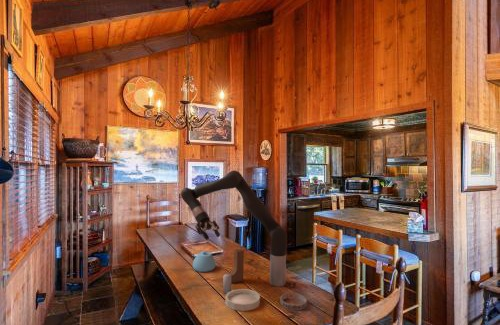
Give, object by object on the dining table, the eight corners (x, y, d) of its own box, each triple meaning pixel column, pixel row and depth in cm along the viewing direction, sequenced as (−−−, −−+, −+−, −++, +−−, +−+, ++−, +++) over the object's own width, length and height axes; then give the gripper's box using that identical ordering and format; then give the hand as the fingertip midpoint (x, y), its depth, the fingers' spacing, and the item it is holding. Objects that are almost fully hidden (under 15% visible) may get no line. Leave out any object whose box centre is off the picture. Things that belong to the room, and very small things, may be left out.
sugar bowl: (211, 274, 182) (211, 255, 182) (188, 271, 185) (189, 253, 185) (218, 265, 196) (218, 249, 196) (197, 264, 199) (198, 247, 199)
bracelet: (275, 305, 142) (275, 299, 142) (287, 295, 154) (287, 289, 154) (300, 314, 135) (300, 307, 135) (311, 302, 146) (311, 296, 146)
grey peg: (226, 289, 159) (227, 273, 159) (232, 291, 156) (233, 275, 156) (221, 292, 156) (221, 275, 156) (227, 294, 153) (227, 277, 153)
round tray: (241, 291, 157) (241, 286, 157) (266, 301, 146) (266, 295, 146) (218, 302, 143) (218, 296, 143) (244, 314, 133) (244, 308, 133)
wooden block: (229, 283, 167) (230, 252, 167) (226, 280, 171) (227, 250, 171) (243, 280, 171) (244, 250, 171) (240, 278, 175) (240, 248, 175)
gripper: (194, 212, 164) (207, 236, 156) (212, 210, 175) (225, 231, 167) (188, 220, 167) (200, 244, 160) (206, 217, 178) (219, 239, 171)
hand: (213, 237), depth 164 cm, fingers open, 8 cm apart
